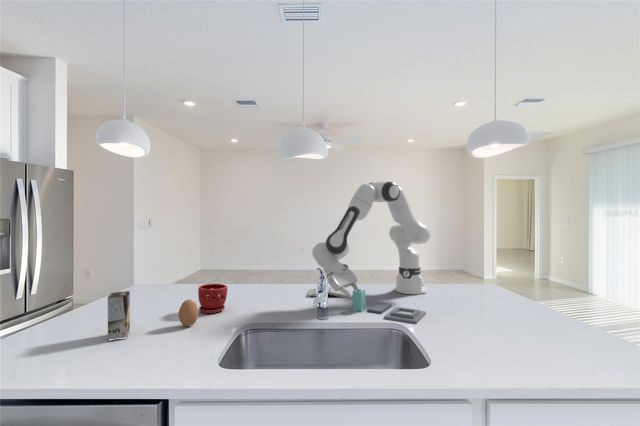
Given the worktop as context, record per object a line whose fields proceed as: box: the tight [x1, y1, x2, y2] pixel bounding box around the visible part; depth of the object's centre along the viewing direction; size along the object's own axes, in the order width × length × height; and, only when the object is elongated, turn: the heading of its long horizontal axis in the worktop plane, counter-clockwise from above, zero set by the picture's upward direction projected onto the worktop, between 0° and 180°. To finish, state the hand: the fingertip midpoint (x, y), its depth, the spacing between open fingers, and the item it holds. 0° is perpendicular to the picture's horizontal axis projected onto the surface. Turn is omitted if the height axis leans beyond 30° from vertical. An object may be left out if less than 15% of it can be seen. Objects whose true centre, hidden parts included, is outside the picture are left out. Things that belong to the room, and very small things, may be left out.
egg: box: [178, 299, 199, 327], centre depth 142 cm, size 8×8×11 cm
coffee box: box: [107, 290, 131, 340], centre depth 130 cm, size 9×6×16 cm
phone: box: [366, 302, 393, 315], centre depth 165 cm, size 7×14×1 cm, turn 149°
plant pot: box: [197, 283, 228, 314], centre depth 163 cm, size 13×13×12 cm
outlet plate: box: [383, 306, 427, 325], centre depth 153 cm, size 16×14×2 cm
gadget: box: [307, 285, 350, 299], centre depth 195 cm, size 23×15×4 cm, turn 87°
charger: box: [352, 289, 366, 313], centre depth 163 cm, size 4×4×9 cm
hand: (353, 293), depth 165 cm, fingers open, 8 cm apart
